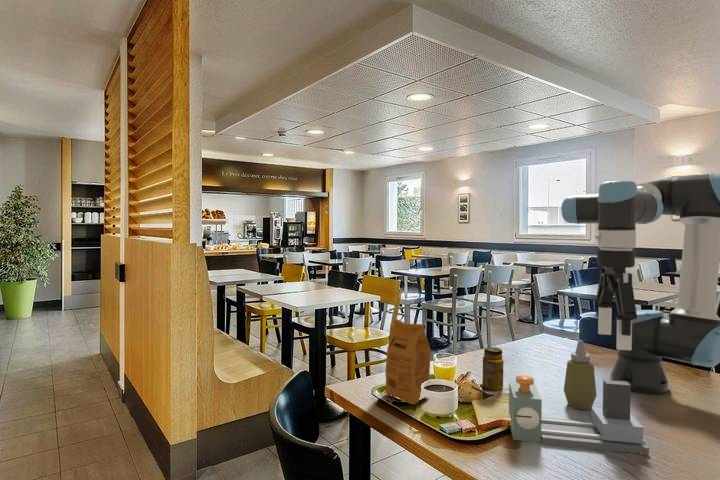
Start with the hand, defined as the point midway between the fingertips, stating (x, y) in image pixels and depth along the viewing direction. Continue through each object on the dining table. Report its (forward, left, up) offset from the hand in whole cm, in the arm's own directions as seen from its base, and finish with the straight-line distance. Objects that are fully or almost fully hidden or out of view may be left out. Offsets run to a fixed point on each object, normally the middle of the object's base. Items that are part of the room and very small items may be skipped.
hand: (613, 341), depth 101 cm
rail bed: (+5, 0, -23) cm, 23 cm away
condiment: (+25, -27, -23) cm, 43 cm away
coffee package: (+49, -15, -23) cm, 56 cm away
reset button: (+19, 0, -13) cm, 23 cm away
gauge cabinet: (+19, 0, -23) cm, 30 cm away
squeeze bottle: (+2, -19, -23) cm, 30 cm away
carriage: (-1, 0, -21) cm, 21 cm away
